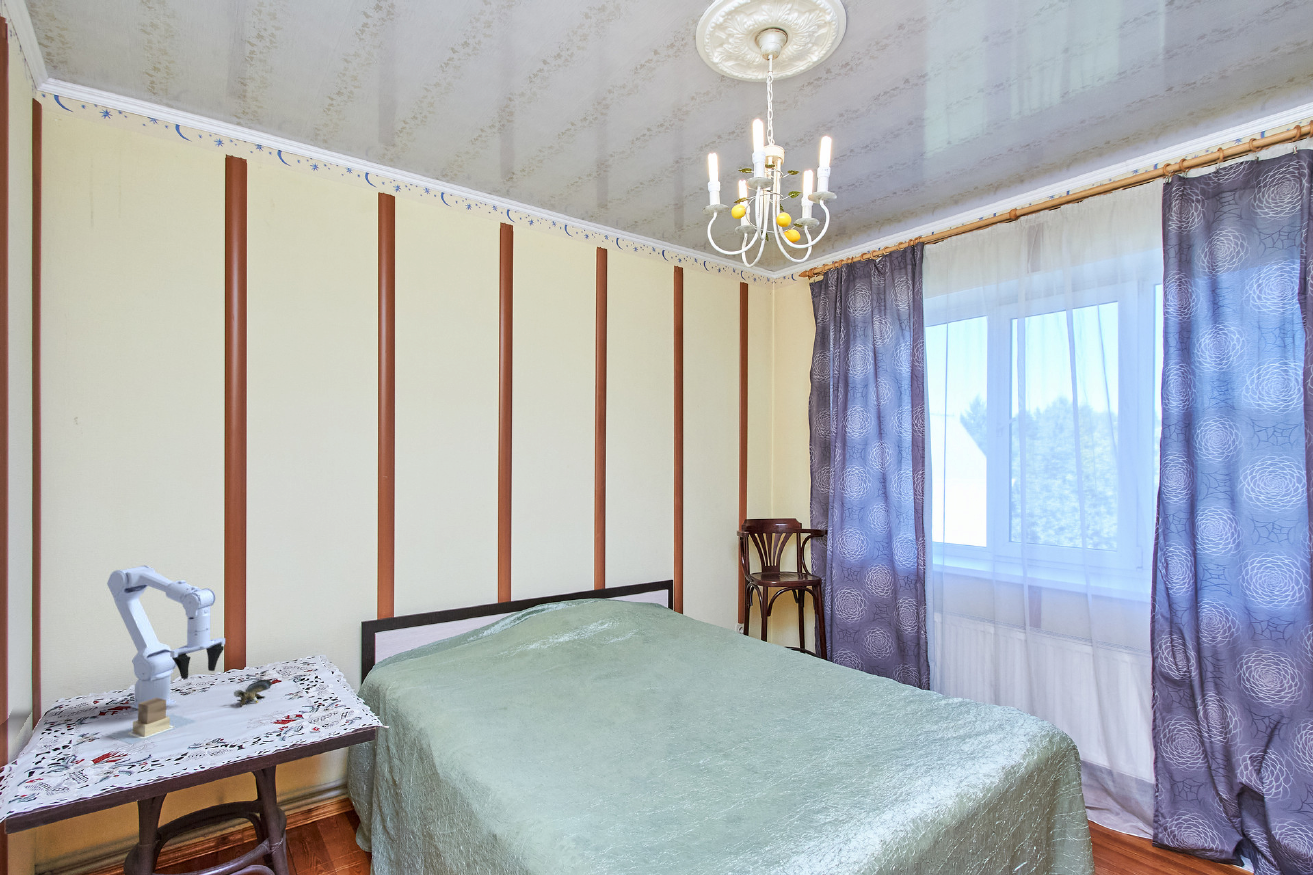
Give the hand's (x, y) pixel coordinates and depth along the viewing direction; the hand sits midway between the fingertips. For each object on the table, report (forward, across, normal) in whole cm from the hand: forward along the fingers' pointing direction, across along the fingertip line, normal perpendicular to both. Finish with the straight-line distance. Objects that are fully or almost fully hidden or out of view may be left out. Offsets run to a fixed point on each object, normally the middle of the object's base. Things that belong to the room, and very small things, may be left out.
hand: (198, 674), depth 191 cm
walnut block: (+7, -15, -6) cm, 18 cm away
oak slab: (+10, -15, -6) cm, 19 cm away
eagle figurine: (+11, +10, -10) cm, 18 cm away
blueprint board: (+10, -14, -4) cm, 18 cm away
